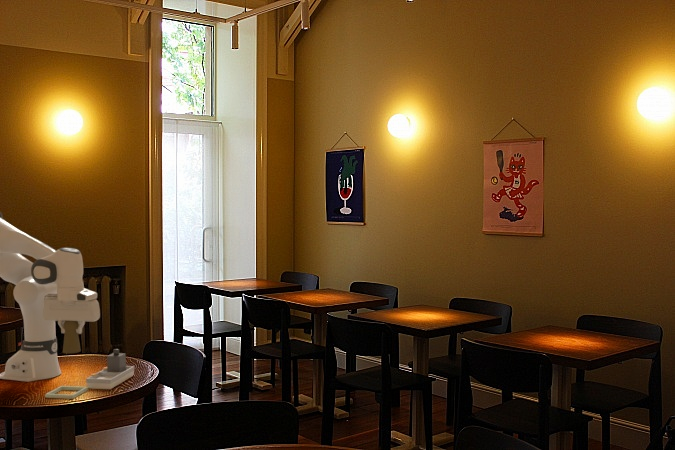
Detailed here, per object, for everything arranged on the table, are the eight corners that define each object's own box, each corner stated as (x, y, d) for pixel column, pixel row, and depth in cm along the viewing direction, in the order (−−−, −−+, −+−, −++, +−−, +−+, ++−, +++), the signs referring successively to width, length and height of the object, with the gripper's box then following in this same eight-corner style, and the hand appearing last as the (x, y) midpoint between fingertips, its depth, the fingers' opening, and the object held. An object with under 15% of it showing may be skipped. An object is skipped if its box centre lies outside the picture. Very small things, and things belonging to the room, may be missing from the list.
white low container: (85, 388, 259) (84, 377, 259) (110, 374, 278) (109, 364, 278) (111, 389, 258) (110, 378, 257) (134, 375, 276) (134, 365, 276)
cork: (66, 349, 256) (66, 318, 256) (83, 349, 256) (82, 318, 255) (59, 353, 250) (58, 322, 250) (76, 353, 250) (75, 322, 249)
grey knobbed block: (107, 374, 270) (106, 350, 270) (113, 371, 275) (113, 347, 275) (120, 374, 269) (119, 351, 269) (126, 371, 274) (125, 348, 274)
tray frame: (45, 397, 248) (45, 394, 248) (61, 389, 258) (61, 385, 258) (72, 398, 247) (72, 395, 246) (87, 390, 257) (87, 387, 257)
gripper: (38, 295, 251) (39, 334, 252) (92, 296, 247) (93, 336, 248) (48, 292, 257) (49, 330, 258) (101, 293, 254) (102, 332, 254)
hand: (71, 333), depth 253 cm, fingers closed on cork, 4 cm apart
